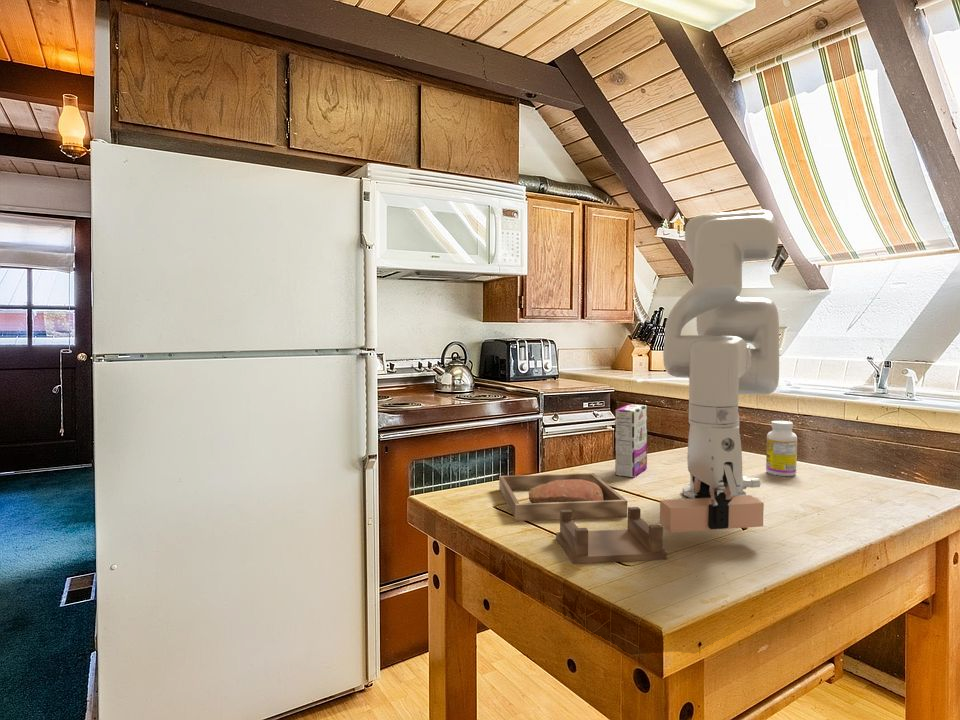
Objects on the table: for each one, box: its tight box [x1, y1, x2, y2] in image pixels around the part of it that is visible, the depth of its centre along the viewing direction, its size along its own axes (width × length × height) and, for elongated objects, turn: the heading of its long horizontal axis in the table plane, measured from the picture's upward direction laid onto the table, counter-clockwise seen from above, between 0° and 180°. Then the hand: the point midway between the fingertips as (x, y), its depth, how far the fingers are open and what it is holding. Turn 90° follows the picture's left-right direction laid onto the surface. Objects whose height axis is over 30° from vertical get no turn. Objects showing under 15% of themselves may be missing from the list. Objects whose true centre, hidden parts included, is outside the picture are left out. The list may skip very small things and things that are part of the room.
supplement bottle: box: [765, 420, 798, 477], centre depth 144 cm, size 7×7×13 cm
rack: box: [555, 506, 668, 565], centre depth 96 cm, size 15×11×5 cm
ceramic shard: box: [528, 479, 605, 503], centre depth 121 cm, size 15×6×15 cm
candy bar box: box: [614, 403, 648, 479], centre depth 146 cm, size 11×5×16 cm, turn 148°
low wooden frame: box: [498, 472, 628, 522], centre depth 122 cm, size 22×22×3 cm
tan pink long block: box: [659, 494, 765, 533], centre depth 98 cm, size 16×4×4 cm, turn 96°
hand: (710, 521), depth 98 cm, fingers closed on tan pink long block, 4 cm apart
